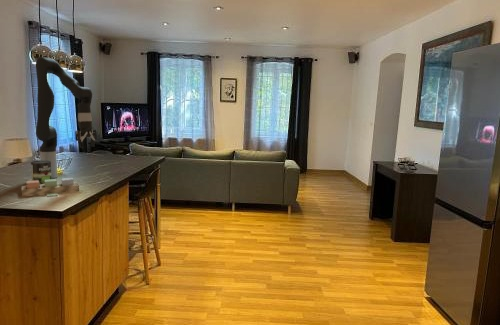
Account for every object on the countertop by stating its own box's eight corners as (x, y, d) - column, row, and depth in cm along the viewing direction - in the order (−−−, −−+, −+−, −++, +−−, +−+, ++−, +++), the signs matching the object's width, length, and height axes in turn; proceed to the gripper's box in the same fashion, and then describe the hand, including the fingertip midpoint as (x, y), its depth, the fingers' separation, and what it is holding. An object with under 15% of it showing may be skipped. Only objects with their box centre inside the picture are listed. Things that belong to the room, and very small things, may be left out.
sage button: (45, 189, 198) (44, 181, 198) (44, 186, 203) (44, 179, 202) (56, 188, 201) (56, 180, 200) (56, 185, 206) (55, 178, 205)
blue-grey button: (62, 187, 203) (62, 180, 202) (61, 185, 207) (61, 178, 207) (73, 186, 205) (73, 179, 205) (72, 184, 210) (72, 177, 209)
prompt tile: (47, 197, 192) (47, 195, 192) (46, 194, 196) (46, 193, 196) (57, 196, 194) (57, 194, 194) (57, 193, 199) (57, 192, 199)
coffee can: (55, 185, 218) (54, 161, 216) (38, 188, 210) (36, 163, 207) (46, 182, 224) (44, 159, 221) (28, 185, 215) (26, 161, 213)
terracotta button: (27, 190, 194) (26, 183, 193) (27, 188, 199) (26, 181, 198) (39, 189, 197) (38, 182, 196) (38, 187, 201) (38, 180, 201)
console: (22, 196, 191) (21, 190, 190) (22, 192, 200) (21, 185, 199) (79, 191, 205) (79, 185, 204) (76, 187, 214) (76, 181, 213)
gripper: (89, 120, 229) (91, 146, 231) (70, 120, 216) (73, 148, 218) (98, 120, 226) (100, 146, 228) (80, 120, 213) (82, 148, 215)
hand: (87, 147), depth 223 cm, fingers open, 8 cm apart
